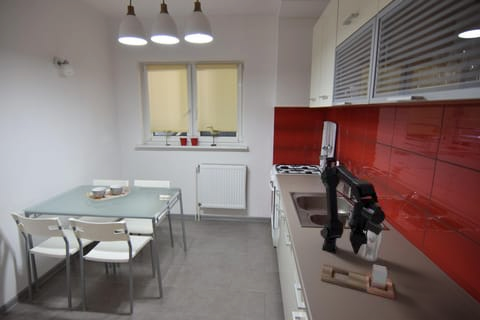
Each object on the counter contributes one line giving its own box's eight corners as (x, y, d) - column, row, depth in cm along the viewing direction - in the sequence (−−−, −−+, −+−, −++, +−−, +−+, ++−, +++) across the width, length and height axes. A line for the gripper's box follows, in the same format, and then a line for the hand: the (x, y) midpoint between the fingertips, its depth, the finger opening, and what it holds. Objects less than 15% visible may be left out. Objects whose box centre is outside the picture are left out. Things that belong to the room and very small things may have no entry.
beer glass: (358, 257, 125) (362, 227, 121) (365, 252, 129) (369, 223, 126) (373, 264, 119) (378, 233, 116) (380, 258, 124) (384, 228, 121)
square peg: (370, 281, 108) (373, 264, 106) (383, 284, 106) (386, 266, 104) (371, 288, 103) (373, 270, 102) (384, 292, 102) (387, 273, 100)
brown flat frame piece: (323, 266, 117) (323, 264, 117) (390, 282, 107) (391, 279, 107) (320, 279, 108) (321, 277, 108) (393, 298, 98) (394, 296, 98)
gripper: (385, 226, 96) (379, 265, 99) (380, 207, 113) (375, 241, 116) (351, 221, 100) (347, 258, 103) (352, 203, 117) (348, 235, 120)
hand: (355, 247), depth 111 cm, fingers open, 9 cm apart
